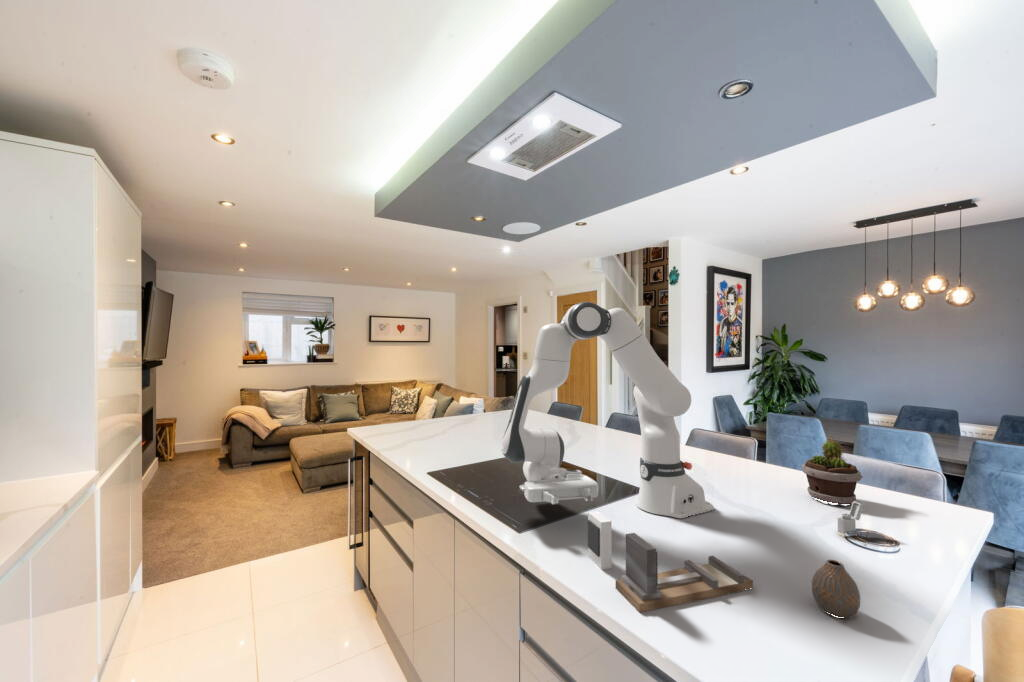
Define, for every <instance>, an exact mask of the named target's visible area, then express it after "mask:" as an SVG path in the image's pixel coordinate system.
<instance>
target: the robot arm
mask: <svg viewBox="0 0 1024 682" xmlns="http://www.w3.org/2000/svg"><path fill="white" fill-rule="evenodd" d="M596 337H599V338H601V339H602V340H603V341H604V342H605V344H606V345H607V347H608V349H609V350H610V352H611V354H612V355H613V357H614V359H615V361H616V362H617V364H618V365H619V367H620V368H621V371H622V372H623V373H624V374H625V375H626V376H627V378H629V379H630V380H631V382H632V383H633V385H634V387H633V391H632V392H633V397H634V399H635V404H636V409H637V410H636V411H637V415H638V421H639V426H640V437H641V438H640V439H641V445H640V446H641V447H640V449H641V456H640V459H639V473H640V484H639V491H638V495H637V500H636V502H635V505H636V506H637V507H638V508H639V509H640V510H642V511H644V512H648V513H651V514H655V515H661V516H665V517H666V516H667V517H672V518H677V519H686V518H689V517H688V516H690V517H692V516H691V515H693V516H696V515H695V514H697V515H699V513H701V514H703V512H704V513H707V511H708V512H711V511H710V510H712V511H714V510H715V507H714V505H713V503H711V502H709V501H708V500H707V499H706V497H705V496H706V495H705V491H704V488H703V487H702V485H701V484H700V483H699V482H697V481H696V480H694V479H693V478H692V477H691V476H690V475H689V474H688V473H686V470H688V471H691V470H692V469H693V465H692V463H690V462H688V461H684V462H683V461H682V460H681V437H680V432H679V430H678V429H677V426H676V422H675V418H674V417H679V416H683V415H684V414H685V413H687V412H688V410H689V409H690V408H691V405H692V395H691V391H690V390H689V389H688V388H687V387H686V386H685V385H684V384H683V383H682V382H681V381H679V379H678V378H677V377H676V376H675V374H674V373H673V372H672V370H671V369H670V368H669V367H668V366H667V365H666V364H665V363H664V361H662V359H661V358H660V356H658V354H657V352H656V351H655V349H654V348H653V346H652V345H651V344H650V341H649V340H648V339H647V337H646V335H645V334H644V332H643V331H642V329H641V328H640V326H639V324H638V323H637V322H636V321H635V319H634V318H633V317H632V316H631V315H630V314H629V313H628V312H627V311H626V310H625V309H624V308H622V307H614V308H610V309H608V310H607V309H605V307H604V308H603V307H602V306H601V305H599V304H597V303H594V302H590V301H580V302H579V303H575V304H574V305H572V306H571V307H570V308H568V309H567V311H566V312H565V313H564V314H563V316H562V318H561V319H560V320H559V322H558V323H552V322H551V323H548V324H545V325H543V326H542V327H541V328H540V329H539V332H538V335H537V339H536V344H535V349H534V355H533V362H532V366H531V368H530V369H529V371H528V373H527V374H525V375H523V376H522V377H521V379H520V382H519V384H518V388H517V390H516V394H515V396H514V397H515V398H514V401H513V405H512V409H511V412H510V416H509V420H508V424H507V427H506V429H505V431H504V435H503V439H502V442H501V452H502V455H503V456H504V457H505V458H506V460H508V461H509V462H510V463H512V464H517V463H518V464H519V463H521V464H522V463H523V464H522V472H523V475H524V478H525V479H526V481H524V482H523V483H522V484H520V485H519V490H520V491H522V492H523V493H524V498H525V499H526V500H527V502H529V503H542V502H543V503H544V502H547V503H551V505H558V504H559V501H570V500H579V499H580V500H581V499H583V500H584V501H586V502H593V500H594V499H593V498H597V497H598V496H599V483H598V482H597V481H596V480H594V479H593V478H592V477H589V476H588V475H586V474H583V472H582V470H579V469H571V468H564V467H561V465H562V463H563V460H564V457H565V444H564V443H565V442H564V440H563V439H562V436H561V435H560V434H559V432H558V431H557V430H556V429H551V428H549V429H547V428H534V429H533V428H524V427H525V424H526V420H527V417H528V412H529V409H530V406H531V403H532V401H534V399H535V398H537V397H538V396H539V395H542V394H545V393H547V392H550V391H553V390H556V389H557V388H559V387H561V386H562V385H564V383H565V382H566V381H567V380H568V378H569V373H570V365H571V353H572V348H573V347H574V344H575V342H577V341H587V340H589V339H592V338H596ZM685 469H686V470H685ZM713 509H714V510H713ZM685 517H686V518H685Z"/></svg>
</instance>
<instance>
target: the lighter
mask: <svg viewBox="0 0 1024 682" xmlns="http://www.w3.org/2000/svg"><path fill="white" fill-rule="evenodd" d="M863 510H864V504H862V503H860V502H857V501H854V502H853V503H852V504H851V507H850V509H849V513H842V514H841V517H837V533H838V532H840V533H843V534H845V533H846V532H847V531H851V530H856V529H857V528H856V527H857V526H856V521H860V519H861V515H862V512H863Z"/></svg>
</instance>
